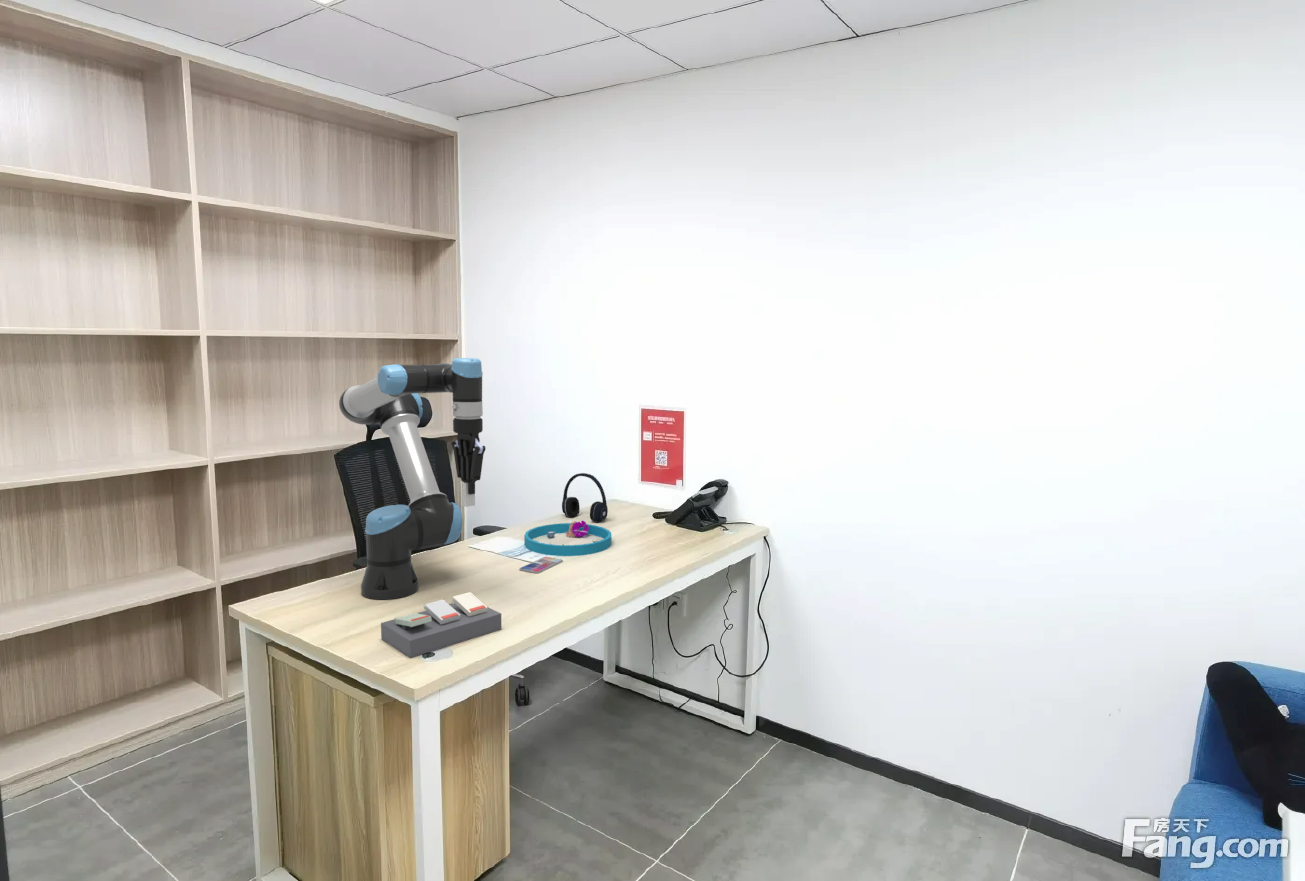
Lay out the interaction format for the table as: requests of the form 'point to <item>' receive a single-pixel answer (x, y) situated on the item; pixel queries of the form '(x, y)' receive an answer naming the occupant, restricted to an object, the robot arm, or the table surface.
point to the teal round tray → (571, 531)
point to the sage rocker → (413, 619)
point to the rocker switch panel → (439, 632)
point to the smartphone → (540, 565)
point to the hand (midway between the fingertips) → (469, 505)
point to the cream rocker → (469, 604)
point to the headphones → (572, 504)
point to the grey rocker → (442, 611)
